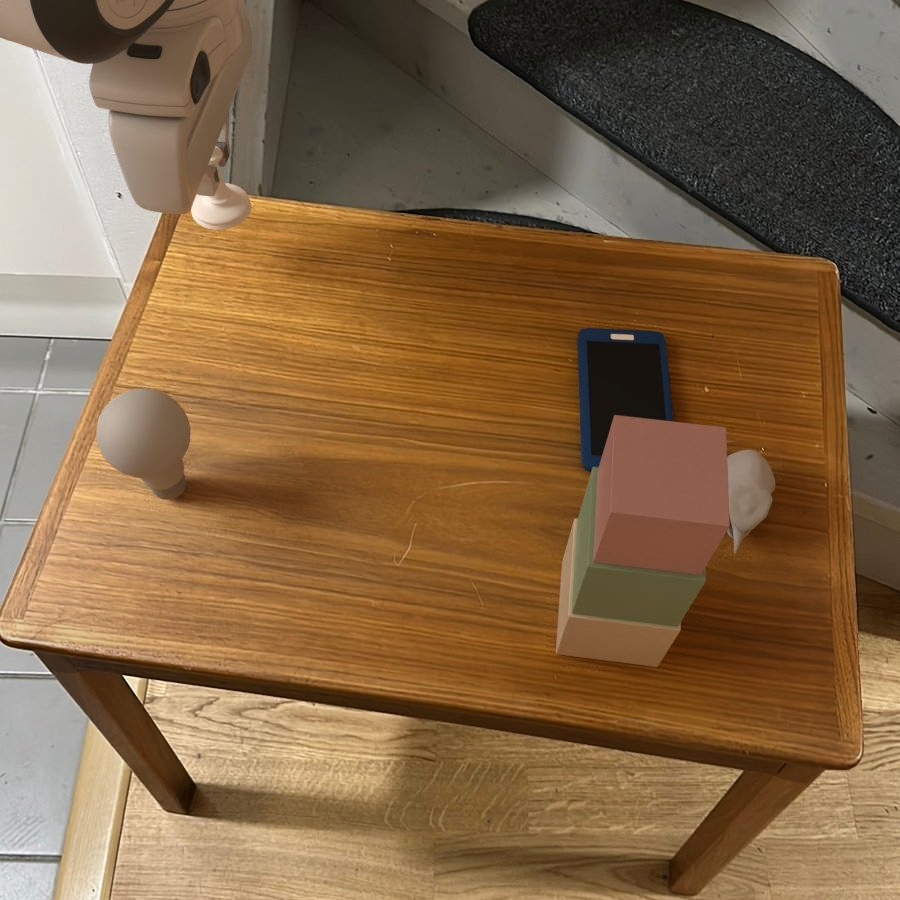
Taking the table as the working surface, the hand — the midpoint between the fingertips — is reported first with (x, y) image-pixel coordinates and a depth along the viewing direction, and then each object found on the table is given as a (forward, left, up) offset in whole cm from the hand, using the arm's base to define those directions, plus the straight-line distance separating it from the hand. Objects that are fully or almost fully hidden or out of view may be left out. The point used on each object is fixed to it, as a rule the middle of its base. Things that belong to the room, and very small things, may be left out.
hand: (213, 175), depth 74 cm
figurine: (+31, -36, -10) cm, 49 cm away
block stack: (+19, -40, -10) cm, 46 cm away
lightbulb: (-9, -22, -10) cm, 26 cm away
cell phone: (+27, -24, -10) cm, 38 cm away
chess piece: (0, 0, -4) cm, 4 cm away
